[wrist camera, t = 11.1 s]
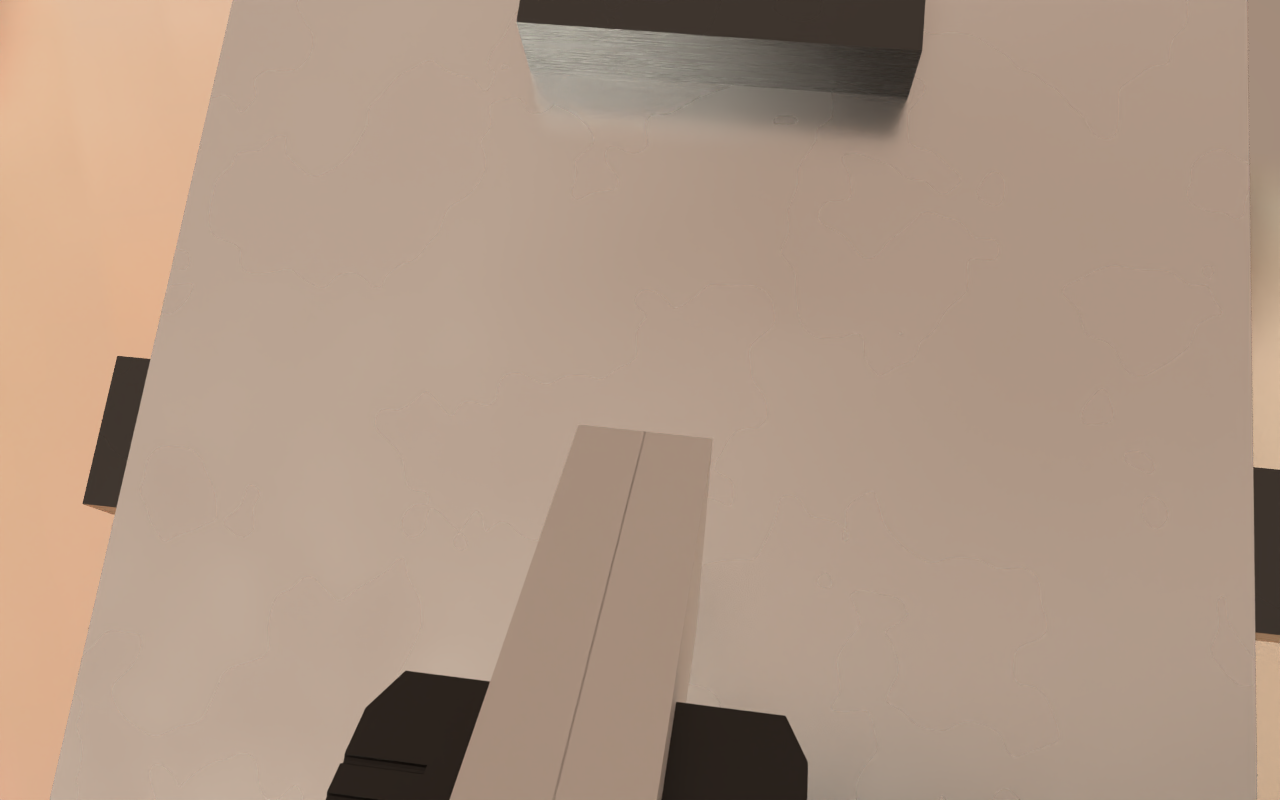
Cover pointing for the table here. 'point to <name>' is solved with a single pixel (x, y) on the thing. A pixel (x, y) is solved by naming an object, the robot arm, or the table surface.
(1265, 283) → the table surface
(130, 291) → the table surface
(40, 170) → the table surface
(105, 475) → the grey storage box
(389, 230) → the gray box lid
